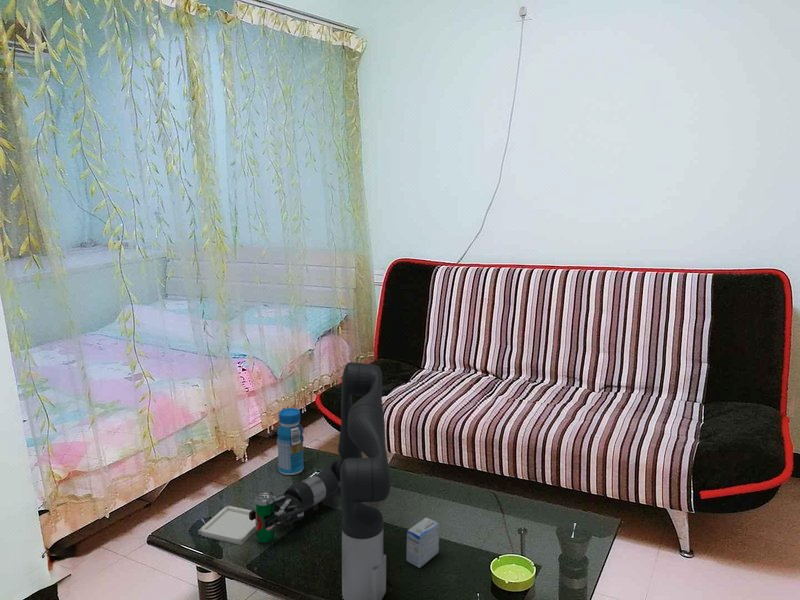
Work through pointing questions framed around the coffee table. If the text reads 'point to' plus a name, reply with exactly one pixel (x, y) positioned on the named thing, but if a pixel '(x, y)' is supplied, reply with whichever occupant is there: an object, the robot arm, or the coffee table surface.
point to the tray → (229, 526)
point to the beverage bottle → (290, 442)
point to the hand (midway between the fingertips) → (257, 520)
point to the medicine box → (422, 542)
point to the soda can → (264, 517)
